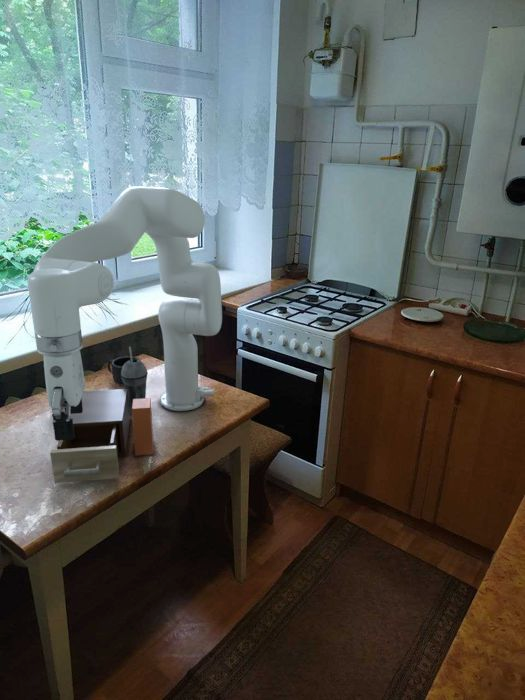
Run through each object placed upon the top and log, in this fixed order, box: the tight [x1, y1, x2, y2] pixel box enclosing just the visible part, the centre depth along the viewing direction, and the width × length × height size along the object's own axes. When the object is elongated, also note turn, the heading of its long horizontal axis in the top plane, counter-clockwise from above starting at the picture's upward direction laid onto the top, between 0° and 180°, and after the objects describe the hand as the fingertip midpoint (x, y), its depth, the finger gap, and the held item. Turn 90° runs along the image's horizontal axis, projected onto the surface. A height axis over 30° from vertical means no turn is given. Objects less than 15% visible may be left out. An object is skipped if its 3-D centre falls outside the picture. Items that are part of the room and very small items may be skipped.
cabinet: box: [62, 388, 131, 457], centre depth 125 cm, size 17×15×10 cm
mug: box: [107, 355, 142, 386], centre depth 157 cm, size 12×9×7 cm
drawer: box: [49, 424, 120, 484], centre depth 113 cm, size 20×14×8 cm
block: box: [131, 397, 154, 456], centre depth 121 cm, size 4×5×13 cm
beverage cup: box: [121, 346, 148, 414], centre depth 137 cm, size 7×7×20 cm
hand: (69, 425), depth 93 cm, fingers open, 9 cm apart
